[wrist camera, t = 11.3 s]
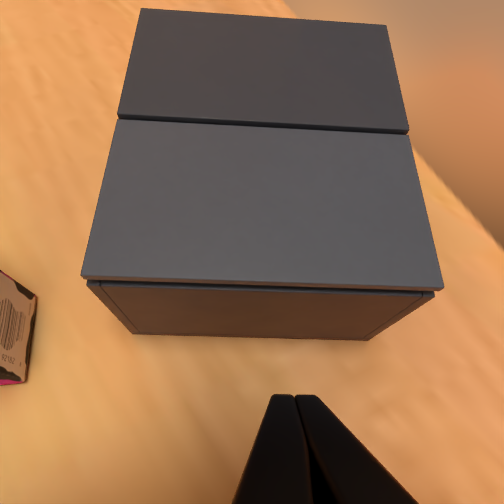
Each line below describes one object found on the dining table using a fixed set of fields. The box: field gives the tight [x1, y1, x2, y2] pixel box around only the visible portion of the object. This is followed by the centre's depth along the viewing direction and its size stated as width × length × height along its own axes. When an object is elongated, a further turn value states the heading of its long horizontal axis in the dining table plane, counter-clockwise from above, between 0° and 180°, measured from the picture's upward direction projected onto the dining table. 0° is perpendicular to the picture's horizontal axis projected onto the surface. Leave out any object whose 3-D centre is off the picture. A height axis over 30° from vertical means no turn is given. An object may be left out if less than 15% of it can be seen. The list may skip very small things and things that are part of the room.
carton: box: [86, 8, 435, 340], centre depth 20 cm, size 15×13×8 cm
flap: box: [81, 119, 444, 291], centre depth 15 cm, size 7×13×1 cm, turn 89°
